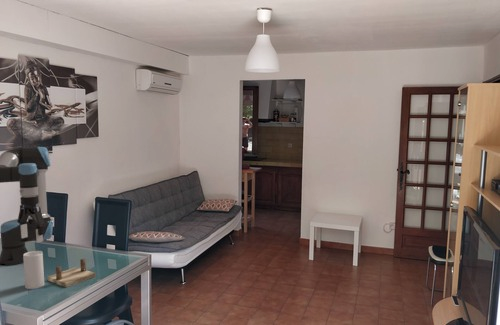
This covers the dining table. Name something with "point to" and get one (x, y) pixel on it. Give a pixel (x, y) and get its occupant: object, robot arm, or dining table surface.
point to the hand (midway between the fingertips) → (32, 239)
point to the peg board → (71, 275)
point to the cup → (33, 269)
